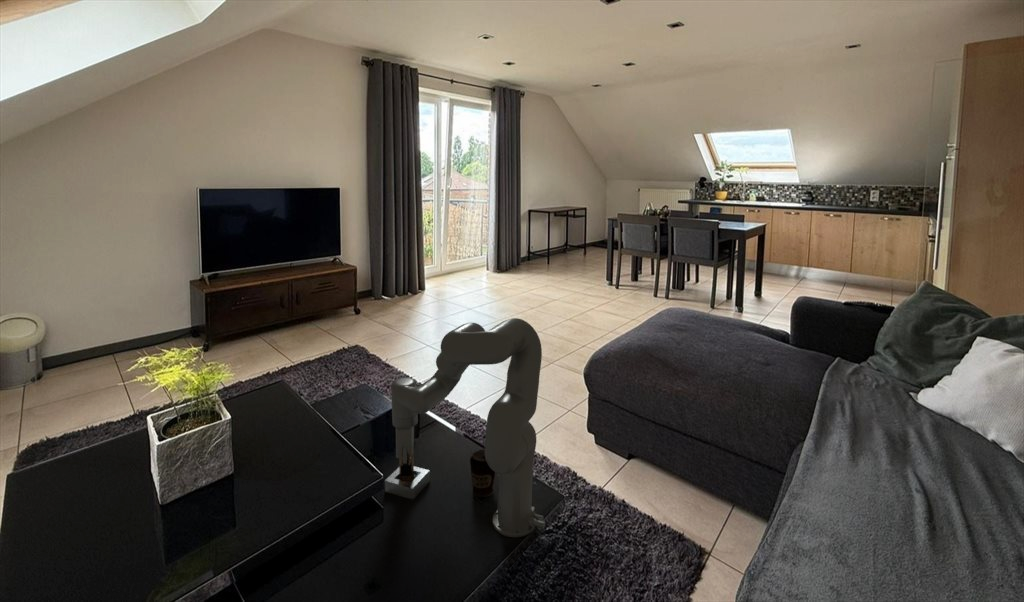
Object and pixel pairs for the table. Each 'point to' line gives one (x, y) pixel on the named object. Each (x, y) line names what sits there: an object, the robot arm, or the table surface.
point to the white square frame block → (407, 483)
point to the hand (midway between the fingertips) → (406, 470)
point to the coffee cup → (481, 475)
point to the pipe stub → (408, 478)
